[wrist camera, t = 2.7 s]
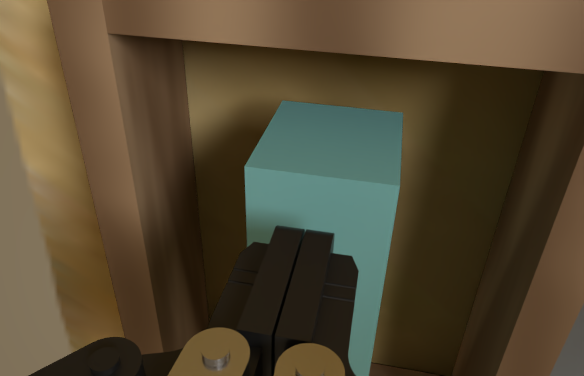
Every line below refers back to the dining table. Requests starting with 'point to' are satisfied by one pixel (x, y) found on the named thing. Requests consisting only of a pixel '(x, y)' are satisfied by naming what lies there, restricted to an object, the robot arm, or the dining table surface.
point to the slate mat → (572, 351)
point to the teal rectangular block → (332, 194)
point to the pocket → (338, 39)
